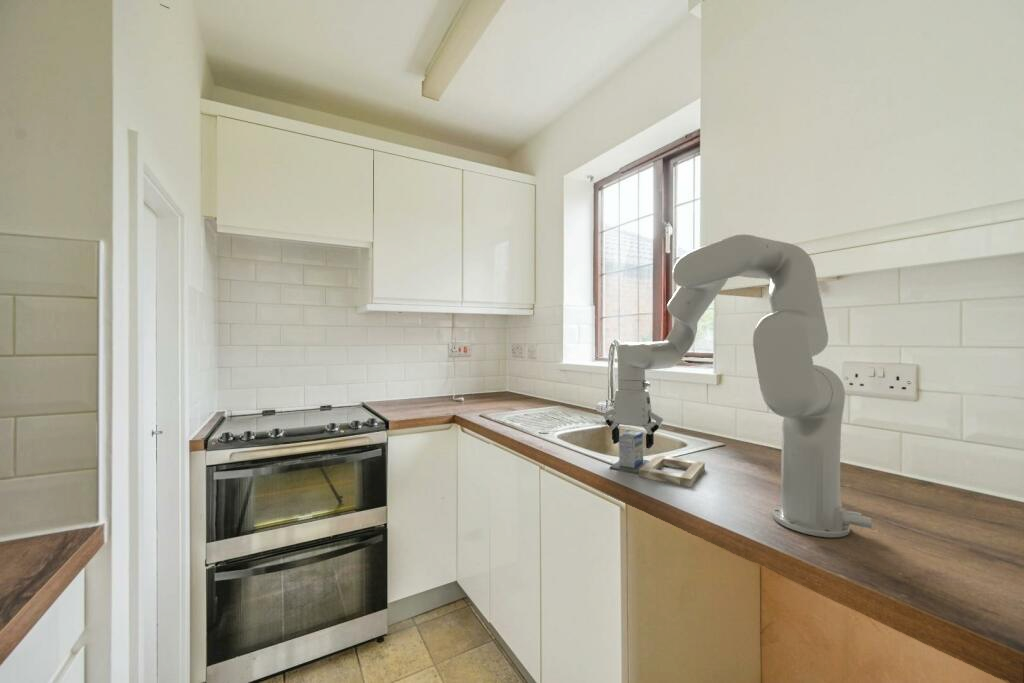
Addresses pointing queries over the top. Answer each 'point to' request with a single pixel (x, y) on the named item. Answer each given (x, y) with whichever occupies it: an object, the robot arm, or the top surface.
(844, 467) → the top surface
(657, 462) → the pocket board
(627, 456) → the medicine box
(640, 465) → the rubber mat
